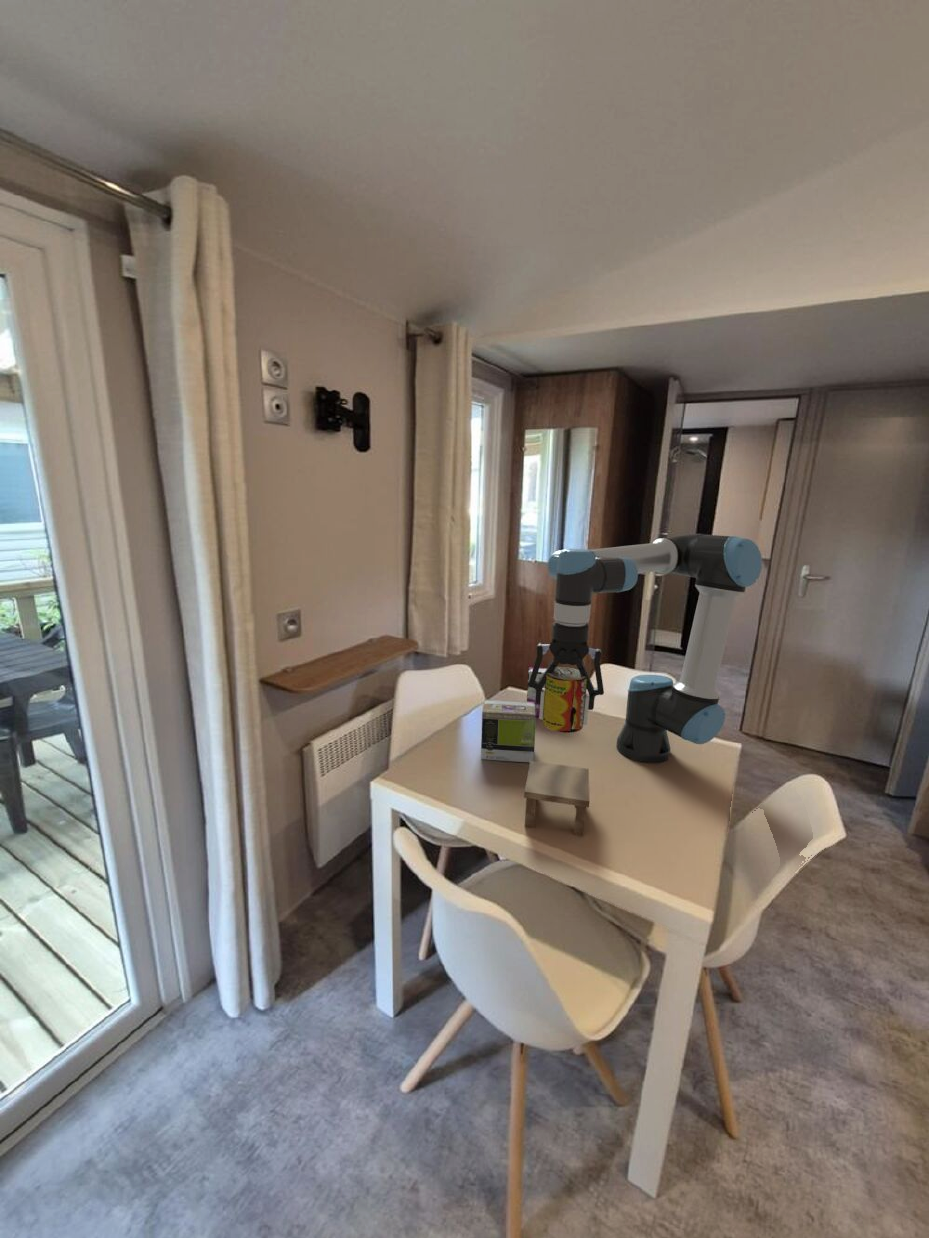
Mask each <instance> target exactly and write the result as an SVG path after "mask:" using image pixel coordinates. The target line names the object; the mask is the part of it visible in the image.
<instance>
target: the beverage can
mask: <svg viewBox="0 0 929 1238" xmlns="http://www.w3.org/2000/svg"><path fill="white" fill-rule="evenodd" d="M586 683H587V677H584V676H581V674H580V672H579V670H578V668H577V667H571V666H557V667H556V668H555V670H554V671H553V673H547V675H546V683H545V695H544V708H543V720H542V724H543V726H545V728H546V729H549V730H551V731H553V732H558V733H566V734H567V733H568V734H570V733H576V732H579V731H582V729H583V728H584V725H583V720H584V709H585V698H586V693H587V688H586Z"/></svg>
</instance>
